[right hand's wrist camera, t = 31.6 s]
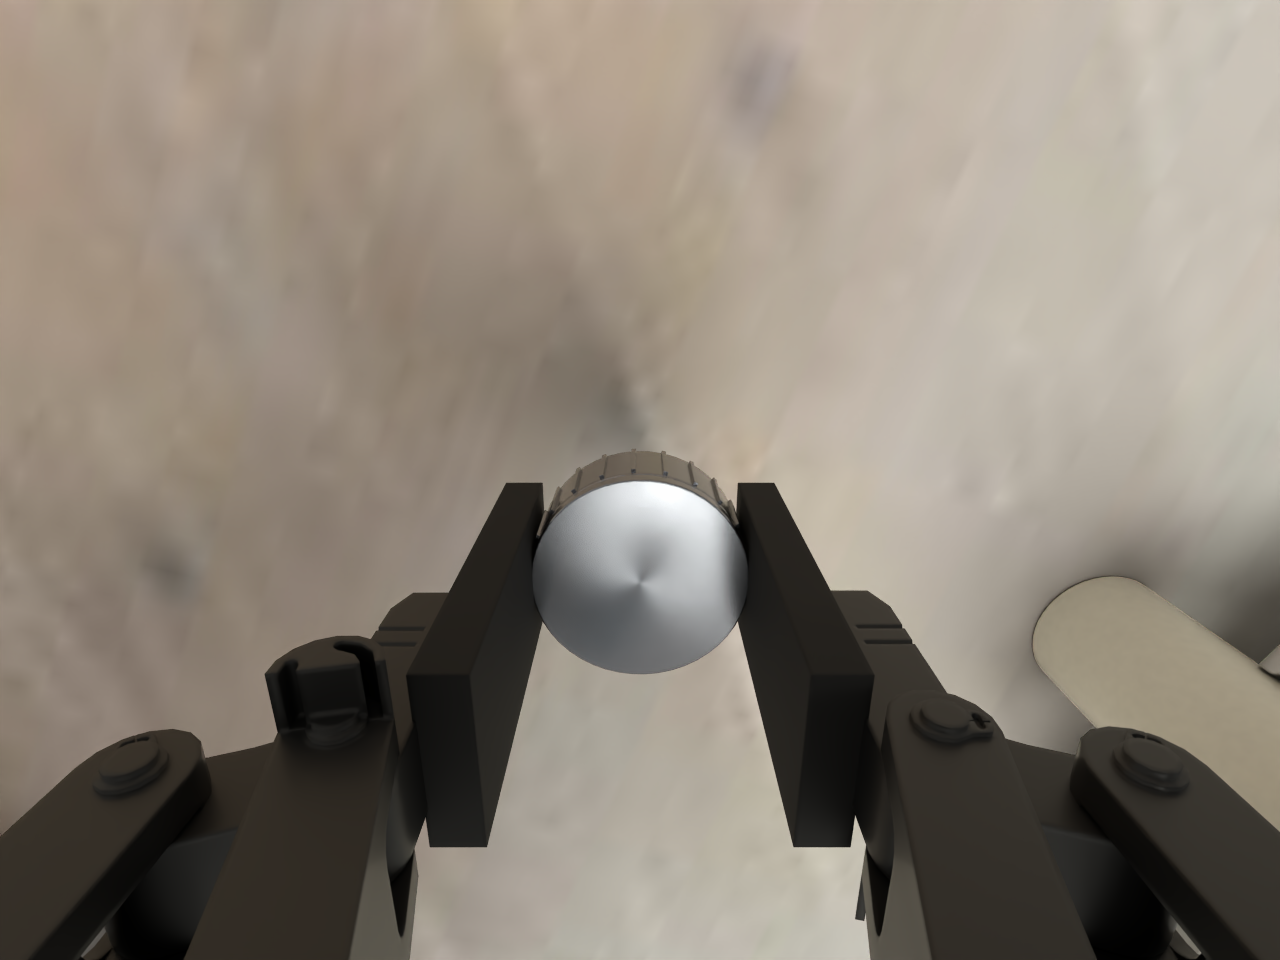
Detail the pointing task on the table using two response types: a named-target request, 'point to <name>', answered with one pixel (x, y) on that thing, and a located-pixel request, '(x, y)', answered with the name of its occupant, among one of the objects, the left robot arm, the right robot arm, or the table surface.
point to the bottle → (1165, 681)
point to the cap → (640, 563)
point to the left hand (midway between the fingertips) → (1209, 736)
